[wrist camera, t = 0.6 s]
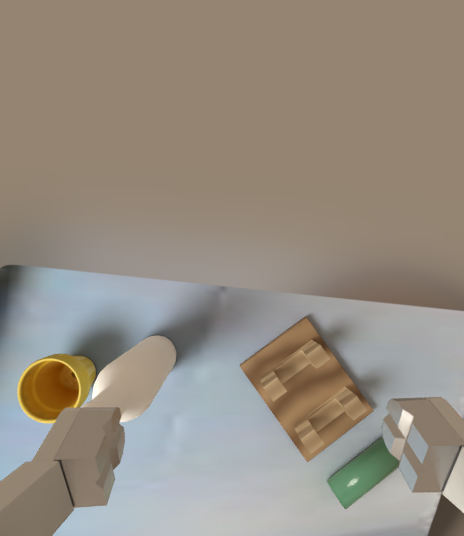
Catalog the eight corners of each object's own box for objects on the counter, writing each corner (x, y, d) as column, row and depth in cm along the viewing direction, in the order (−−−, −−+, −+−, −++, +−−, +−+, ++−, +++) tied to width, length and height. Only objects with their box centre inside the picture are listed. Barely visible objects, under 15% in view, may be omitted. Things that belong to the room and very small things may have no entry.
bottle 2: (338, 495, 58) (349, 516, 53) (323, 474, 58) (333, 493, 53) (422, 428, 60) (441, 442, 55) (408, 408, 59) (426, 420, 54)
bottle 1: (175, 332, 59) (127, 381, 29) (178, 373, 58) (134, 465, 28) (134, 337, 58) (42, 390, 29) (137, 378, 58) (47, 475, 28)
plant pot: (41, 388, 57) (4, 409, 48) (64, 337, 58) (32, 347, 48) (92, 408, 57) (65, 434, 48) (114, 357, 58) (92, 372, 48)
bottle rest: (370, 408, 59) (388, 423, 53) (305, 458, 58) (316, 479, 52) (304, 316, 60) (314, 320, 53) (239, 364, 59) (241, 374, 52)
